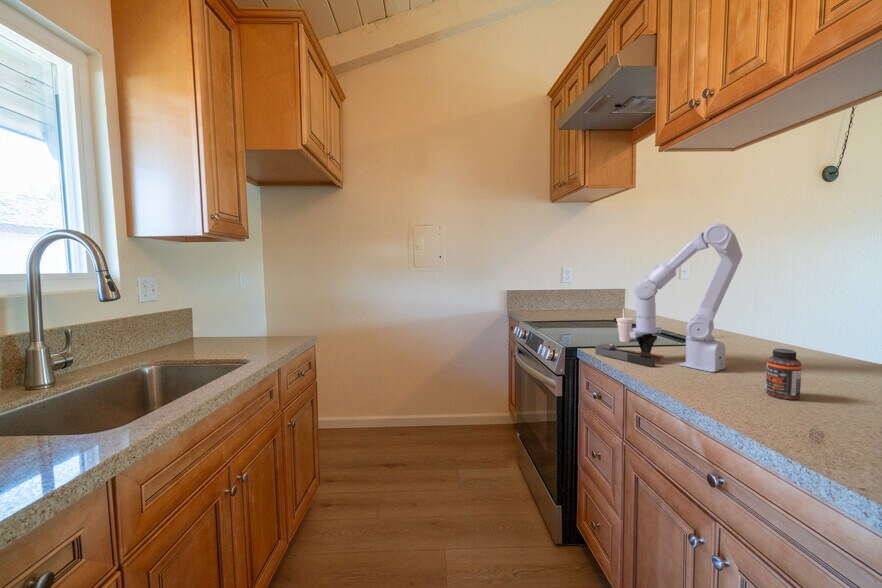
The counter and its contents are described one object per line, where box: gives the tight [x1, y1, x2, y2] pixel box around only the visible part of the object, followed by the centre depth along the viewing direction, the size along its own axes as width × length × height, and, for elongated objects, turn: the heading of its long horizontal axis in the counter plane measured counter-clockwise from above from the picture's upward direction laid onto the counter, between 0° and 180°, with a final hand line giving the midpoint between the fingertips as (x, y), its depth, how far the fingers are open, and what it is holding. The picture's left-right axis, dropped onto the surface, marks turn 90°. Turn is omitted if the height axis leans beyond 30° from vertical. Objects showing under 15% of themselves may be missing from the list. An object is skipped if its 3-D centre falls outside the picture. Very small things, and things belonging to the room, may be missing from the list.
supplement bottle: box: [765, 348, 802, 401], centre depth 83 cm, size 6×6×11 cm
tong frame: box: [594, 343, 656, 368], centre depth 120 cm, size 21×5×4 cm, turn 28°
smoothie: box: [615, 308, 634, 343], centre depth 148 cm, size 6×6×14 cm
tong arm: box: [612, 347, 664, 364], centre depth 120 cm, size 18×3×2 cm, turn 38°
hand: (645, 355), depth 119 cm, fingers closed
